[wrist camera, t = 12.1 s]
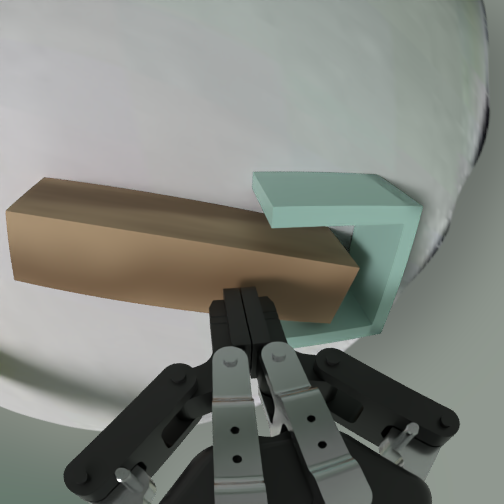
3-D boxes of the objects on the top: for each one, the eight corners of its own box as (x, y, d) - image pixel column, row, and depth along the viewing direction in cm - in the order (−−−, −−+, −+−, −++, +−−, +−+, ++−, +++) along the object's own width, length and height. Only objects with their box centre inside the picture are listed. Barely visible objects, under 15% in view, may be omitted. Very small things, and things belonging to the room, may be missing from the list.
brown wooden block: (46, 176, 15) (5, 211, 11) (326, 225, 20) (359, 268, 16) (46, 234, 17) (14, 279, 13) (305, 274, 22) (330, 323, 18)
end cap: (252, 171, 17) (273, 206, 13) (376, 174, 18) (422, 206, 14) (248, 298, 22) (261, 352, 18) (351, 288, 23) (380, 333, 19)
